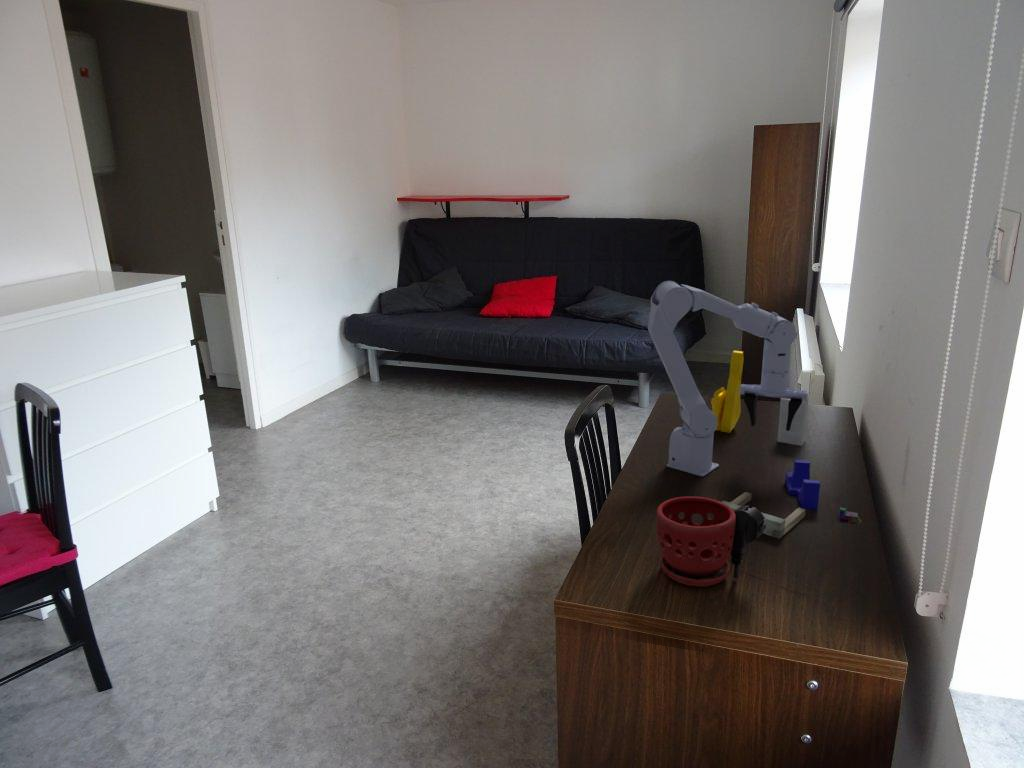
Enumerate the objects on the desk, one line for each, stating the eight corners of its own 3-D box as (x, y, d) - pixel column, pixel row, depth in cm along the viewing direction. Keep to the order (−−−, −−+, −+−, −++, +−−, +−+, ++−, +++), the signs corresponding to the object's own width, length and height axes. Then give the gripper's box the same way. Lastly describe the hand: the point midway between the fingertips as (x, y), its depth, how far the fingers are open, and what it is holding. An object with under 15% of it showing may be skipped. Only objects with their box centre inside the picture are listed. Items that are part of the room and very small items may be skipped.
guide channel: (717, 518, 144) (718, 503, 143) (744, 498, 152) (745, 484, 152) (779, 538, 136) (780, 523, 135) (804, 516, 144) (806, 501, 143)
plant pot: (743, 567, 127) (748, 505, 123) (713, 602, 117) (717, 536, 113) (675, 545, 134) (677, 487, 131) (641, 576, 125) (643, 514, 121)
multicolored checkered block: (838, 522, 142) (840, 511, 141) (838, 516, 145) (840, 505, 144) (862, 526, 140) (863, 515, 140) (861, 520, 143) (863, 509, 142)
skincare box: (805, 442, 182) (809, 397, 179) (801, 447, 179) (806, 402, 175) (780, 438, 185) (784, 394, 182) (776, 443, 182) (780, 398, 178)
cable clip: (784, 484, 159) (786, 459, 157) (806, 485, 158) (808, 460, 156) (794, 508, 148) (796, 482, 146) (817, 510, 147) (820, 483, 145)
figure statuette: (714, 418, 201) (719, 342, 195) (743, 422, 198) (749, 344, 191) (702, 440, 185) (707, 357, 179) (734, 444, 182) (739, 360, 176)
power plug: (718, 573, 124) (722, 510, 121) (739, 556, 130) (743, 496, 126) (748, 585, 121) (753, 521, 117) (769, 567, 126) (774, 505, 122)
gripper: (738, 371, 161) (734, 427, 165) (807, 378, 155) (801, 437, 159) (744, 363, 167) (741, 418, 171) (811, 370, 161) (806, 427, 164)
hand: (770, 426), depth 165 cm, fingers open, 7 cm apart
